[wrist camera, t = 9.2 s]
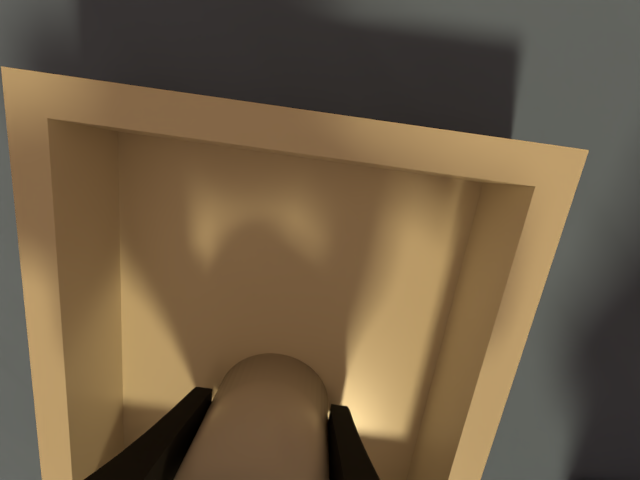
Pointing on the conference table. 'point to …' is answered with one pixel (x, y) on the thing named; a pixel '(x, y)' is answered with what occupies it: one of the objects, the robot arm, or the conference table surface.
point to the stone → (263, 425)
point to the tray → (273, 264)
